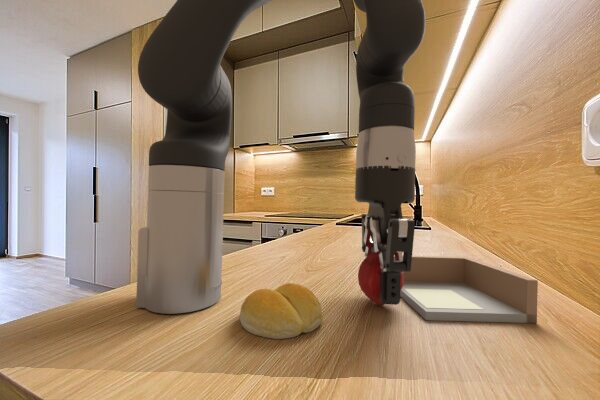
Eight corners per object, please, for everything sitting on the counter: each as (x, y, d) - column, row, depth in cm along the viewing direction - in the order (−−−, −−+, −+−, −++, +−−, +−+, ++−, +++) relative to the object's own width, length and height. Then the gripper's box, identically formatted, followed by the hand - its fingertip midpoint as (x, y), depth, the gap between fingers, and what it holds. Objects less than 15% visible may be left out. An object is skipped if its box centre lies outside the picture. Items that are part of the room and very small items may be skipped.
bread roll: (231, 316, 31) (232, 282, 31) (297, 303, 35) (298, 274, 35) (256, 352, 24) (257, 308, 24) (335, 330, 28) (336, 293, 28)
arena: (426, 320, 31) (427, 277, 31) (388, 284, 44) (389, 254, 44) (536, 323, 31) (537, 280, 31) (466, 287, 44) (466, 257, 44)
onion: (406, 317, 31) (408, 250, 31) (357, 311, 33) (359, 247, 33) (398, 299, 37) (400, 243, 37) (357, 295, 38) (358, 240, 38)
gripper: (346, 172, 42) (343, 277, 42) (371, 157, 28) (367, 317, 28) (393, 173, 42) (390, 278, 42) (442, 159, 28) (438, 318, 28)
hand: (381, 293), depth 35 cm, fingers closed on onion, 6 cm apart
